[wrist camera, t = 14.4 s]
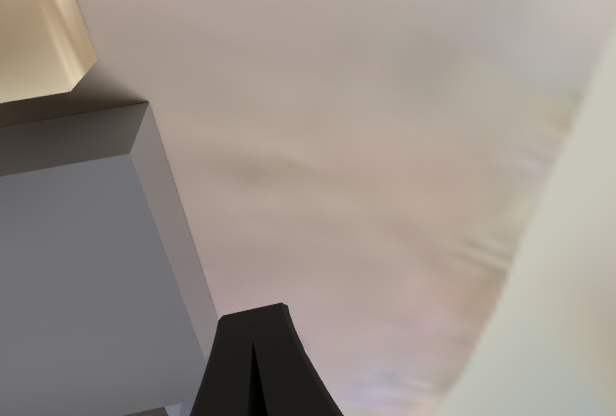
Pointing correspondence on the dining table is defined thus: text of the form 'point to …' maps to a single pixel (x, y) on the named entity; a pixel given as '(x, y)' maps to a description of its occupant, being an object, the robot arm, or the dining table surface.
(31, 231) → the block
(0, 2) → the beige cube
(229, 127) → the dining table surface
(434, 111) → the dining table surface
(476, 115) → the dining table surface
